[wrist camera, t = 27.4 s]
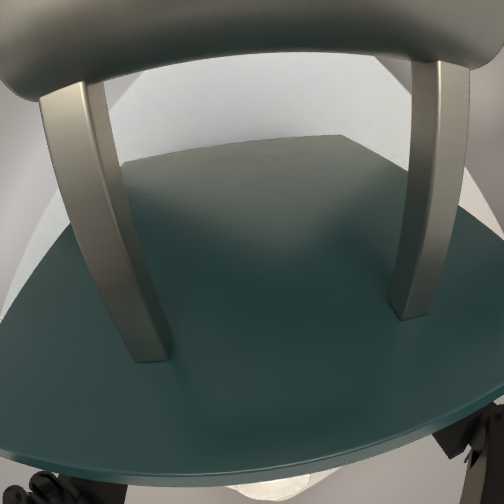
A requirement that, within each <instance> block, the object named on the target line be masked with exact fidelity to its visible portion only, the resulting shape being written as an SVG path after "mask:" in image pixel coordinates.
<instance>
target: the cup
mask: <svg viewBox="0 0 504 504" xmlns="http://www.w3.org/2000/svg"><path fill="white" fill-rule="evenodd" d="M310 477H311V474H306V475H301V476H296V477H291V478H285V479H279V480H273V481H266V482H258V483H250V484H240V485H235V487H236V489H237V491H238V492H240V493H242V494H243V495H245V496H247V497H250V498H253V499H258V500H272V499H278V498H282V497H285V496H287V495H290V494H293V493H295V492H297V491H299V490H300V489H301V488H303V487H304V486H305V485H306V484H307V483H308V482H309V480H310Z"/></svg>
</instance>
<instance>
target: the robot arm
mask: <svg viewBox="0 0 504 504" xmlns="http://www.w3.org/2000/svg"><path fill="white" fill-rule="evenodd" d="M432 435H433V437H434V438H435V439H436V441H437V442H438V444H439V445H440V446H441V448H442V449H443V451H444V452H445V454H446V455H447V456H448V458H449V459H452V458H454V457H455V456H457V455H459V454H461V453H462V452H464V450H465V448H466V446H467V445H468V444H469V445H470V446H471V450H470V452H469V453H468V455H467V457H466V458H465V461H464V463H466V462H467V460H468V459H469V460H468V466H467V471H466V477H465V482H464V486H463V491H462V495H461V499H460V504H504V404H500V405H496V404H495V403H494V402H493V401H492V402H491V403H489V404H487V405H486V406H484V407H482V408H481V409H479V410H477V411H475V412H474V413H472V414H470V415H468V416H466V417H464V418H463V419H461V420H459V421H457V422H455V423H453V424H451V425H449V426H447V427H445V428H443V429H441V430H439V431H436V432H434V433H432ZM127 487H128V485H126V484H117V483H109V482H102V481H95V480H89V479H83V478H78V477H73V476H68V475H63V474H59V476H58V478H57V477H56V476H55V475H54V474H53V473H51V472H49V471H40V472H37V473H36V474H34V475H33V476H32V477H31V479H30V482H29V488H30V490H31V491H33V492H26V491H25V490H24V489H23V488H22V487H20V486H18V485H12V486H9V487H8V488H7V489H6V490H5V491H4V493H3V504H124V501H125V496H126V491H127Z"/></svg>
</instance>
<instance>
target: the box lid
mask: <svg viewBox="0 0 504 504" xmlns="http://www.w3.org/2000/svg"><path fill="white" fill-rule="evenodd" d="M503 45H504V0H0V79H1V81H2V82H3V83H4V84H5V85H6V86H7V87H8V88H9V89H10V90H11V91H12V92H13V93H15V94H16V95H17V96H19V97H21V98H23V99H25V100H28V101H32V102H39V106H40V112H41V117H42V122H43V127H44V132H45V135H46V140H47V145H48V149H49V153H50V157H51V161H52V164H53V168H54V172H55V175H56V178H57V182H58V186H59V189H60V192H61V196H62V199H63V202H64V205H65V208H66V211H67V214H68V217H69V220H70V224H69V225H68V226H67V227H66V229H65V230H64V231H63V232H62V234H61V235H60V236H59V237H58V239H57V240H56V241H55V243H54V244H53V245H52V247H51V248H50V249H49V251H48V252H47V253H46V255H45V256H44V257H43V259H42V260H41V261H40V263H39V264H38V266H37V267H36V268H35V270H34V271H33V273H32V274H31V276H30V277H29V279H28V280H27V282H26V283H25V285H24V286H23V288H22V289H21V291H20V292H19V294H18V295H17V297H16V298H15V300H14V302H13V303H12V305H11V307H10V308H9V310H8V311H7V313H6V315H5V317H4V318H3V320H2V322H1V323H0V456H1V457H4V458H6V459H9V460H12V461H15V462H19V463H22V464H25V465H28V466H32V467H35V468H39V469H43V470H46V471H50V472H55V473H59V474H63V475H68V476H73V477H78V478H83V479H89V480H95V481H102V482H109V483H117V484H126V485H138V486H154V487H213V486H229V485H240V484H250V483H258V482H266V481H273V480H279V479H285V478H291V477H296V476H301V475H306V474H311V473H315V472H320V471H324V470H328V469H332V468H336V467H340V466H344V465H347V464H351V463H354V462H357V461H361V460H364V459H367V458H370V457H373V456H376V455H379V454H382V453H385V452H388V451H391V450H393V449H396V448H399V447H401V446H404V445H406V444H409V443H411V442H414V441H416V440H418V439H421V438H423V437H425V436H428V435H430V434H432V433H434V432H436V431H439V430H441V429H443V428H445V427H447V426H449V425H451V424H453V423H455V422H457V421H459V420H461V419H463V418H464V417H466V416H468V415H470V414H472V413H474V412H475V411H477V410H479V409H481V408H482V407H484V406H486V405H487V404H489V403H491V402H492V401H494V400H496V399H497V398H499V397H500V396H502V395H504V240H503V239H502V238H500V237H499V236H498V235H497V234H496V233H494V232H493V231H492V230H491V229H489V228H488V227H487V226H486V225H484V224H483V223H482V222H480V221H479V220H478V219H476V218H475V217H474V216H473V215H471V214H470V213H469V212H467V211H466V210H464V209H463V208H462V207H460V206H459V205H458V203H459V197H460V192H461V186H462V179H463V172H464V165H465V157H466V148H467V137H468V125H469V105H470V71H471V70H474V69H477V68H480V67H482V66H484V65H486V64H488V63H489V62H490V61H491V60H493V59H494V57H495V56H496V55H497V54H498V53H499V52H500V50H501V49H502V47H503ZM278 52H327V53H346V54H360V55H370V56H380V57H388V58H395V59H401V60H408V61H411V76H412V78H411V79H412V114H411V141H410V156H409V169H408V171H406V170H404V169H403V168H401V167H399V166H398V165H396V164H394V163H393V162H391V161H389V160H387V159H386V158H384V157H382V156H380V155H379V154H377V153H375V152H373V151H371V150H369V149H368V148H366V147H364V146H362V145H360V144H358V143H356V142H354V141H352V140H351V139H349V138H347V137H345V136H343V135H323V136H305V137H291V138H279V139H268V140H258V141H249V142H240V143H232V144H225V145H217V146H210V147H204V148H197V149H191V150H185V151H179V152H174V153H168V154H163V155H158V156H152V157H148V158H143V159H138V160H133V161H129V162H125V163H124V164H123V165H122V166H121V167H120V166H119V162H118V158H117V153H116V148H115V144H114V139H113V134H112V129H111V124H110V119H109V113H108V108H107V102H106V96H105V90H104V84H103V82H104V81H107V80H110V79H113V78H117V77H121V76H124V75H128V74H132V73H136V72H140V71H144V70H148V69H153V68H157V67H162V66H167V65H172V64H177V63H183V62H189V61H195V60H201V59H208V58H216V57H224V56H234V55H245V54H258V53H278Z"/></svg>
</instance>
